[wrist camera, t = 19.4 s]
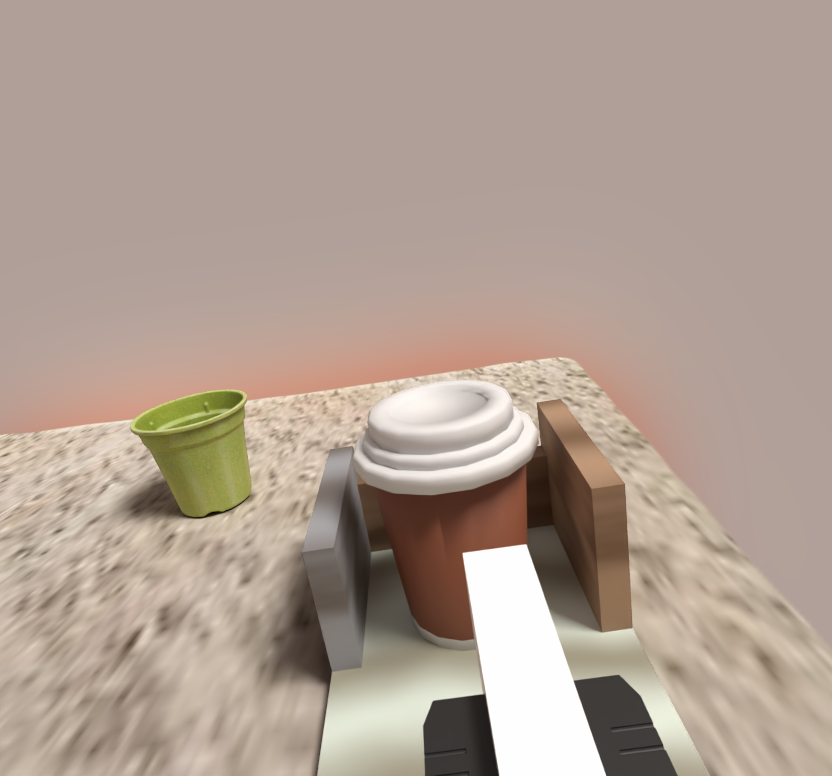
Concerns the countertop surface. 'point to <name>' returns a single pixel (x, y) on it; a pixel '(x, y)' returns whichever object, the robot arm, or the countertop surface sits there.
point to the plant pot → (200, 449)
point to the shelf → (458, 670)
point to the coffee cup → (447, 491)
